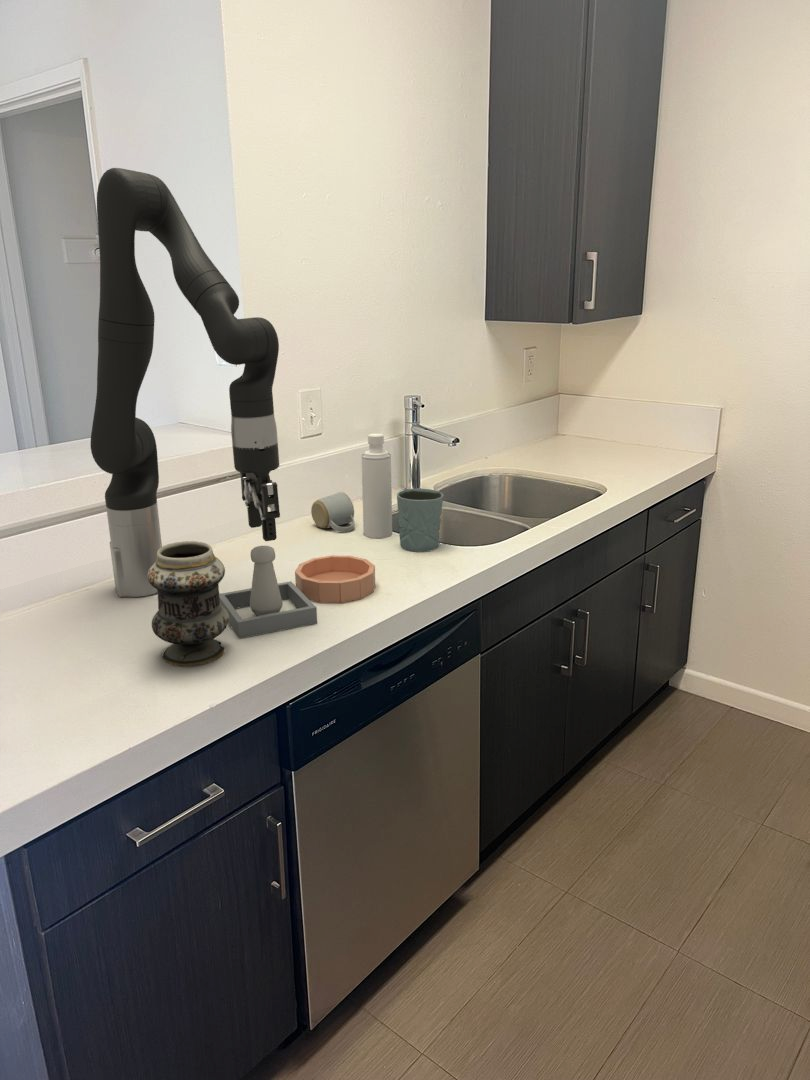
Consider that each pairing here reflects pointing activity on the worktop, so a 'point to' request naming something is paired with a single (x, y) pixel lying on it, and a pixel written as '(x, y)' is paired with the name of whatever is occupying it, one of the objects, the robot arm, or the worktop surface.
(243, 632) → the tray
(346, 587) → the terracotta bowl
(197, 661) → the apothecary jar
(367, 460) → the grey bottle
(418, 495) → the drinking glass
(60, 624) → the worktop surface
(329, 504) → the ceramic mug
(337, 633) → the worktop surface
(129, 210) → the robot arm
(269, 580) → the salt shaker
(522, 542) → the worktop surface
